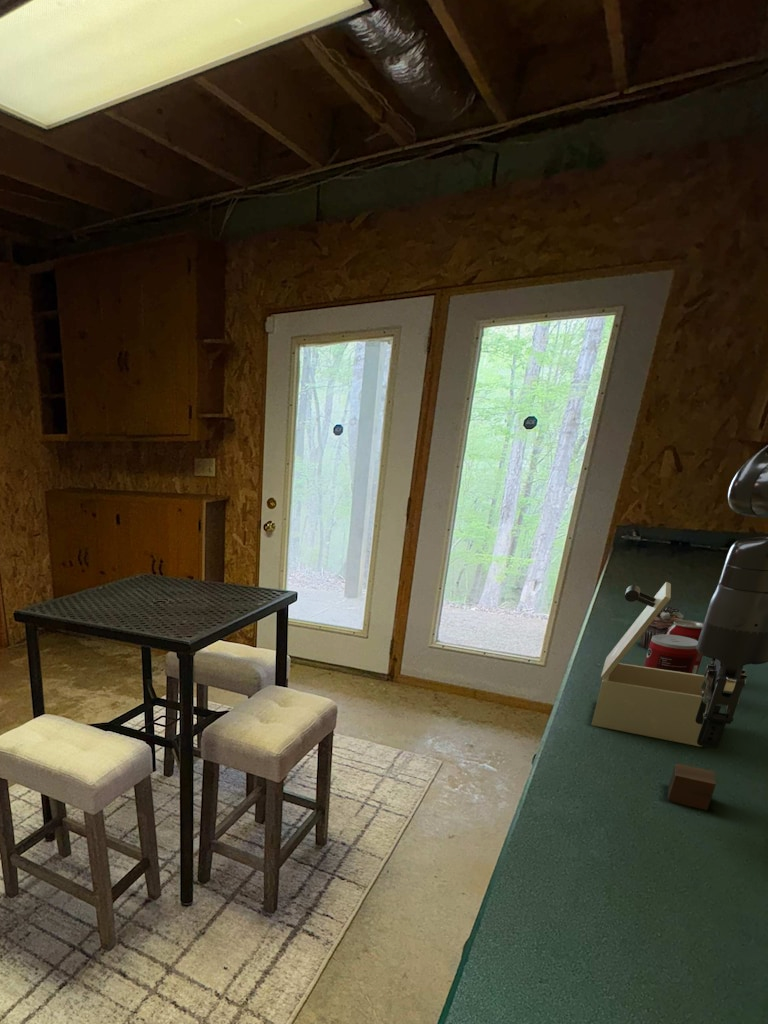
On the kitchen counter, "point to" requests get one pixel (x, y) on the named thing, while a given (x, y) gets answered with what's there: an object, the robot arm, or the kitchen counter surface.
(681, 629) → the soda can
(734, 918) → the kitchen counter surface
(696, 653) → the canned food
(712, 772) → the block
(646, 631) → the cupcake
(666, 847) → the kitchen counter surface
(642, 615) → the bin lid
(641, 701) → the bin
